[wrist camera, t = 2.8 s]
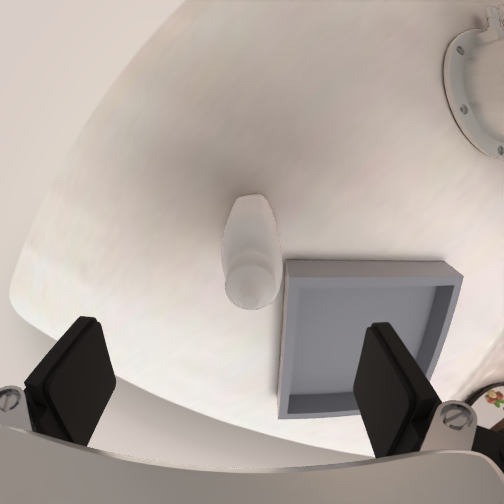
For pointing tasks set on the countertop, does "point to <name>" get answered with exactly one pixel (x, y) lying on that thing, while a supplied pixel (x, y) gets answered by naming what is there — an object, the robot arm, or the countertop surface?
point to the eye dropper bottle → (251, 253)
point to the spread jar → (490, 407)
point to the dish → (355, 325)
